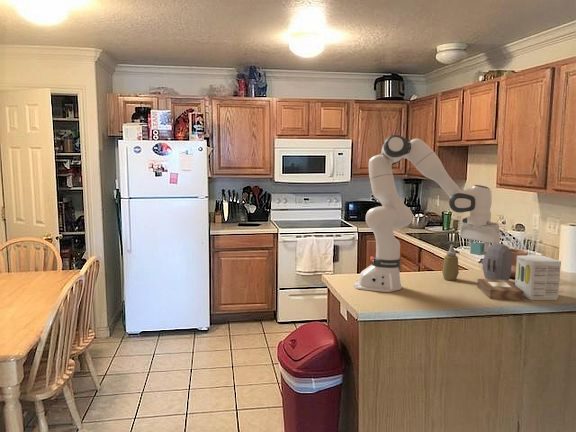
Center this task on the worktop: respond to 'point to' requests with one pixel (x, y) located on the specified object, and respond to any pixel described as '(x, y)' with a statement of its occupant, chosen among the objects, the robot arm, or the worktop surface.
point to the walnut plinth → (500, 289)
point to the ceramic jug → (514, 259)
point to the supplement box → (538, 277)
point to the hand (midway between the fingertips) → (478, 250)
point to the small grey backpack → (497, 262)
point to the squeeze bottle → (450, 265)
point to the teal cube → (477, 248)
